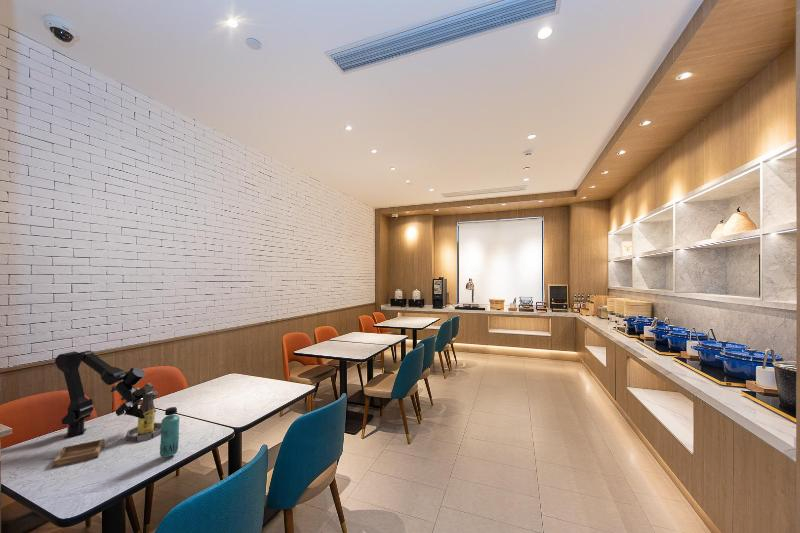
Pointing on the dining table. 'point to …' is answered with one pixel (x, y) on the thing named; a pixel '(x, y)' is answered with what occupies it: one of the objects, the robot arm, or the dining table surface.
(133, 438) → the metal collar
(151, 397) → the sauce bottle
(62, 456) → the walnut tray
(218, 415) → the dining table surface
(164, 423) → the beverage bottle
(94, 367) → the robot arm
